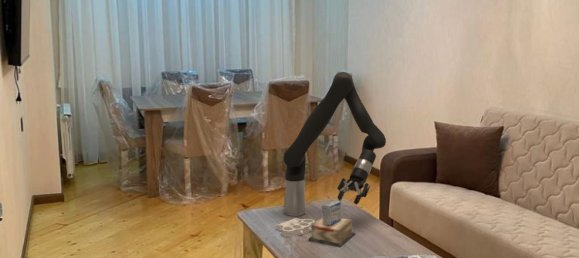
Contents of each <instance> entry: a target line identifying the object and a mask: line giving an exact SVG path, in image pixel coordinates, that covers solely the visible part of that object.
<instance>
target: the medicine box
mask: <svg viewBox="0 0 579 258" xmlns="http://www.w3.org/2000/svg"><path fill="white" fill-rule="evenodd" d="M321 205H322V206H321V208H322V210H321V211H322V212H321V213H322V214H321V215H322V217H321V218H322V223H323V224H326V225H330V226H331V225H333V224H335V223H337V222H339V221H341V218H342V207H341V206H342V203H341V201H339V200H331V201H329V202H325V203H323V204H321Z"/></svg>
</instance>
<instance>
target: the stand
mask: <svg viewBox="0 0 579 258" xmlns="http://www.w3.org/2000/svg"><path fill="white" fill-rule="evenodd" d="M352 226H353V220H352V219H348V218H342V217H341V221H339V222H337V223H335V224H333V225H331V226H330V225H326V224H323V223H322V217H321V218H319V219H318V220H316V221H315V223H314V224H312V230H311V236H310V237H308V242H314V243H318V244H321V245H322V244H324V245H328V246H333V247H338V248H342V247H343V246H344V245H345V244H346V243H347V242H348V241H350V240H351V239H352V238H353V237H354V236H355V235H356V233H355V232H353V227H352Z"/></svg>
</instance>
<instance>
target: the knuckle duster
mask: <svg viewBox="0 0 579 258" xmlns="http://www.w3.org/2000/svg"><path fill="white" fill-rule="evenodd" d="M315 222H316V221H315V219H312V218H304V219H302V218H298V217H294V218H292V219H290V220H286V221H284V222H281V223H278V224H276V225H275V229H276V230H277V231H279V232H281V235H282V237H284V238H293V237H297V236H302V235H305V234H307V233H310V232H311V231H312V224H314V223H315Z"/></svg>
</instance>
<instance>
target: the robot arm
mask: <svg viewBox="0 0 579 258" xmlns="http://www.w3.org/2000/svg"><path fill="white" fill-rule="evenodd" d="M343 100H345V102H346V104H347V105H348V108H349V110H350V113H351V115H352V117H353V119H354V121H355V123H356V125H357V128H358V129H359V131H360V132H361V133H363V134H366V136H365V137H364V140H363V142H362V147H361V153H360V154H359V157H358V159H357V161H356V162H355V164H354V166H353V168H352V170H351V173H350V175H349V178H348V179H346V178H344V177H342V179H341V180H340V182H339V183H338V186H337V188H336V189H337V190H338V192H339V193H338V194H337V201H339V202H341V201H342V199H343V197H344V195H345V193H347V192H350V191H351V192H357V195H356V196H355V198H354V200H353V204H354V205H358V204H359V203H360V201H361V199H362V198H367V195H368V194H369V190H370V188H371V186H370V184H369V183H368V182H367V180H368V178H369V175H370V173H371V171H372V168H373V165H374V163H375V161H376V158H377V154H376V153H375V150H377V149H382V148H384V147H386V143H387V140H386V139H387V138H386V137H385V134H384V133H383V132H382V131H381V129H380V128H379V127H378V126H377V125H376V124H375V123H374V121H373V119H372V117H371V116H370V114H369V112H368V110H367V109H366V107H365V105H364V103H363V102H362V99H361V98H360V97H359V94H358V92H357V89H356V87H355V83H354V79H353V77H352V75H351V74H350V73H348V72H345V71H340V72H337V73H336V74H335V75H334V77H333V80H332V82H331V85H330V87H329V89H328V91H327V92H326V94H325V96H324V98H322V100H320V101H319V103H318V104H317V105H316V106H315V107H314V109H313V110H312V111H311V113H310V114H309V115H308V117H307V118H306V121H305V122H304V124H303V125H302V127H301V129H300V130H299V132H298V133H299V134H297V136H296V138H295V140H294V141H293V142H292V144H291V145H289V147H288V148H287V149H286V150H285V151H284V153H283V162H284V165H285V166H286V169H285V170H286V171H285V176H284V179H285V183H284V185H285V193H284V194H283V210H284V213H283V214H285V215H288V216H290V217H299V216H303V215H304V214H306V202H305V201H306V191H305V187H306V185H305V182H306V180H305V177H306V153H307V152H308V150H309V148H310V147H311V145H312V144H313V143H314V142H315V141H317V139H318V138H319V136H320V135H322V133H323V132H324V130H325V129H326V127H327V126H328V124H329V122H330V121H331V119H332V118H333V116H334V114H335V113H336V110H337V109H338V107H339V106H340V104H341V103H342V102H343ZM362 188H363V189H362Z"/></svg>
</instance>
